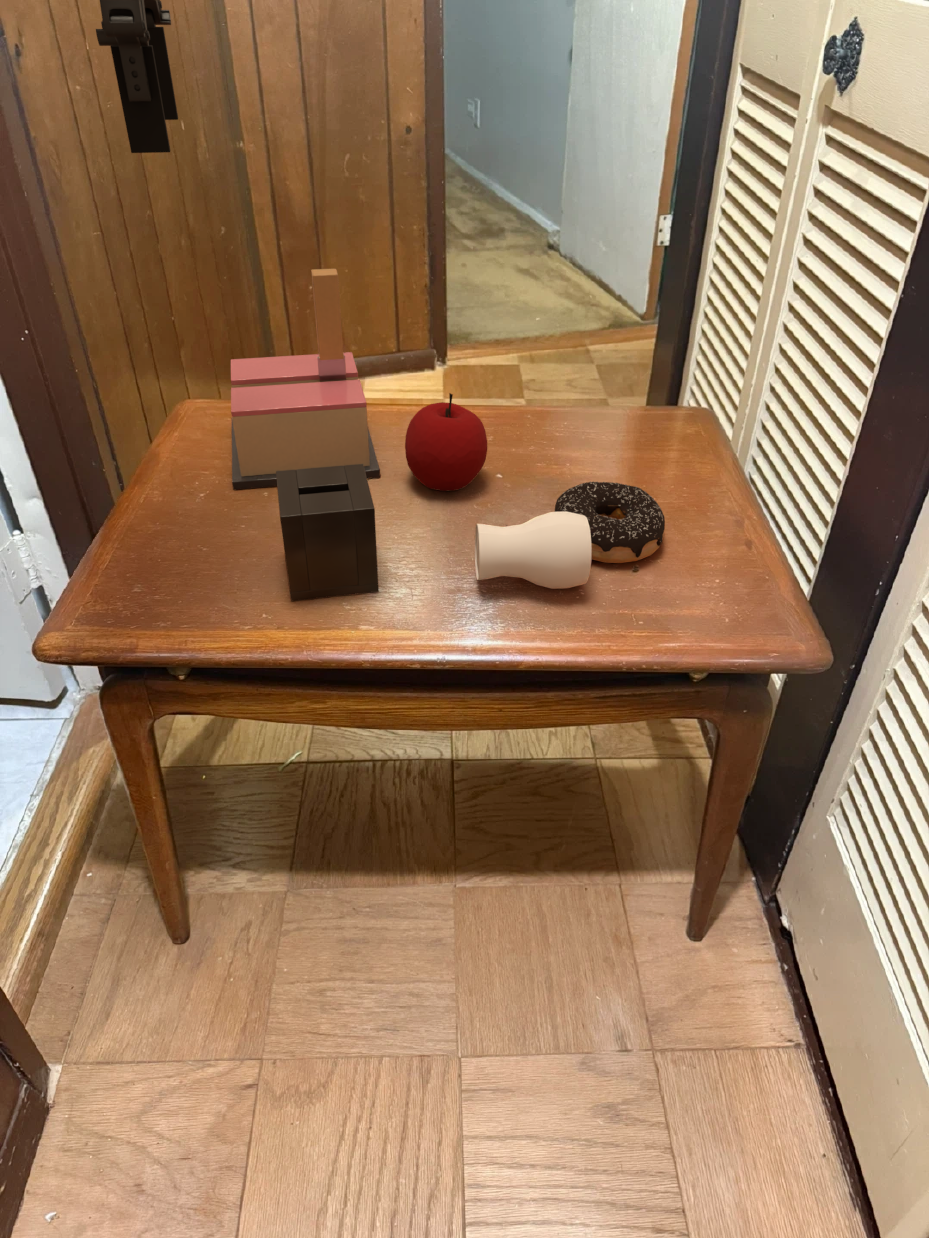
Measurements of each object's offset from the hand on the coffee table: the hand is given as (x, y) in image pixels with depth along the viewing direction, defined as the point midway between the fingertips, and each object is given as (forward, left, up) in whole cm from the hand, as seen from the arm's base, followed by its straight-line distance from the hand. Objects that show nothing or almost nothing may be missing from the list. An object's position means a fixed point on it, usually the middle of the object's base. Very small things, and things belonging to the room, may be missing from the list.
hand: (156, 135), depth 69 cm
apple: (+24, +2, -35) cm, 42 cm away
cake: (+9, +12, -35) cm, 38 cm away
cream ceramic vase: (+28, -18, -35) cm, 48 cm away
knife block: (+10, -13, -35) cm, 38 cm away
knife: (+13, +12, -34) cm, 38 cm away
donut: (+38, -12, -35) cm, 53 cm away
